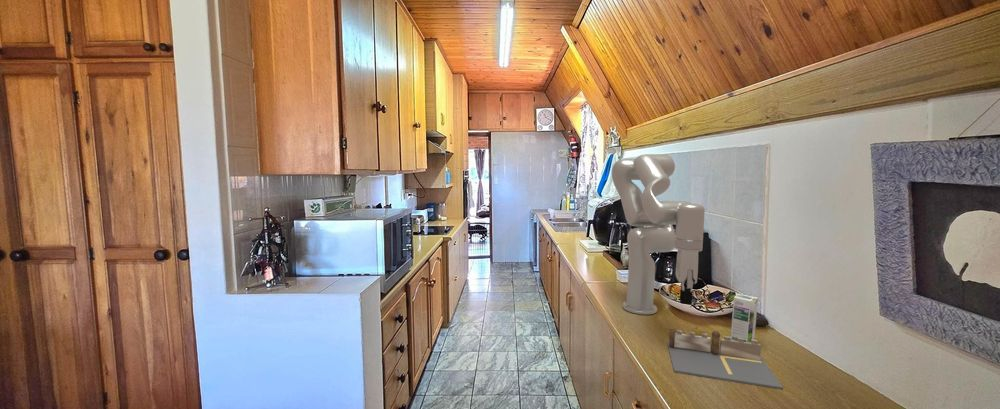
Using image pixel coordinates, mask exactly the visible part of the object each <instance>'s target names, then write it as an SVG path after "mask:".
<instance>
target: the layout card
mask: <svg viewBox="0 0 1000 409" xmlns="http://www.w3.org/2000/svg"><path fill="white" fill-rule="evenodd" d="M666 345H667V348H668V354H669V357H670V361H671V364H672V369H673V373H677V374H678V373H679V374H684V375H690V376H697V377H703V378H709V379H716V380H722V381H729V382H733V383H740V384H748V385H754V386H760V387H766V388H772V389H778V390H783V389H784V387H783V385H782V384H781V382H780V381H779V380H778V378H777V377H776V376H775V374H774V372H773V371H772V370H771V369H770V367H769V366H768V364H767V363H766V361H765V360H764V358H763V357H762V355H760V361H759V360H752V359H745V358H738V357H731V356H724V355H720V347H719V353H718V355H713V354H711V346H710V352H708V351H701V350H694V349H687V348H679V347H671V346H669V340H668V341H666Z"/></svg>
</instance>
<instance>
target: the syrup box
mask: <svg viewBox="0 0 1000 409" xmlns="http://www.w3.org/2000/svg"><path fill="white" fill-rule="evenodd" d="M758 301H759V297H757V296H750V295H747V294H743V293H736V295H734V296H733V304H732V316H731V329H730V336H729V337H730V338H731V340H734V341H737V339H738V338H743V339H744V342H750V343H751V339H753V340H755V334H756V324H757V314H758V304H759V303H758Z"/></svg>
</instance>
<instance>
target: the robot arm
mask: <svg viewBox="0 0 1000 409" xmlns="http://www.w3.org/2000/svg"><path fill="white" fill-rule="evenodd" d="M675 165H676V164H675V160H674V159H673V158H672V157H671V156H670V155H668V154H661V153H660V154H659V153H658V154H657V153H655V154H654V153H653V154H652V153H647V154H641V155H638V156H637V157H635V158H623V159H622V158H621V159H618V160H617V161H615V162H614V164H613V165H612V169H611V178H612V183H613V185H614V187H615V189H616V191H617V192H618V193H617V194H618V196H619V198H620V201H621V205H622V209H623V213H624V217H625V220H626V223H627V224H628V225H629V226H632V227H634V228H632V229H631V230H629V231H628V233H627V236H626V240H627V248H628V271H627V273H628V274H627V291H626V300H625V301H623V302H622V308H623V309H624V310H625V311H627V312H629V313H633V314H636V315H642V316H643V315H644V316H645V315H646V316H647V315H654V314H656V313H657V312H658V306H656V305H655V304H654V297H655V279H656V278H655V277H656V263H655V260H654V258H652V256H651V253H652V254H653V253H670V252H672V251H673V250H675V249H676V250H677V254H676V266H675V278H676V280H677V281H678V282H679V283H680V288H679V303H680V304H683V305H692V303H693V287H694V285H696V284H697V282H698V277H699V276H698V274H699V253H700V252H702V251H703V243H704V229H705V228H704V227H705V211H706V210H705V206H703V205H702V204H697V203H691V202H689V201H682V200H680V201H678V200H677V201H675V200H672V201H671V200H669V201H668V200H665V201H664V200H662V201H661V200H658V199H657V198H656V197H658V196H660V195H662V194H664V193H665V192H666V191H667V190H668V189H669V187H670V185H671V179H670V177H671V176H672V175H673V174H674V172H675V169H676V166H675ZM633 181H640V182H641V184H642V186H643V188H644V189H643V191H642V190H641V188H640V187H639V186H638V185H637V184H635V183H634V182H633ZM673 225H674V226H675V229H674V226H673Z"/></svg>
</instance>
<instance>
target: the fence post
mask: <svg viewBox="0 0 1000 409" xmlns="http://www.w3.org/2000/svg"><path fill="white" fill-rule="evenodd" d="M730 337H731V336H729V335H724V337H723V338H721V333H720V332H719V331H718V330H713V331H712V332H711V342H710V347H711V354H713V355H718V353H719V348H720V355H724V356H731V357H738V358H745V359H752V360H759V361H760V356H761V351H762V344H761V343H759V341H758V340H757V339H754V340H753V339H751V343H750V342H744V339H743V338H738V339H737V341H734V340H731V338H730Z"/></svg>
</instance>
